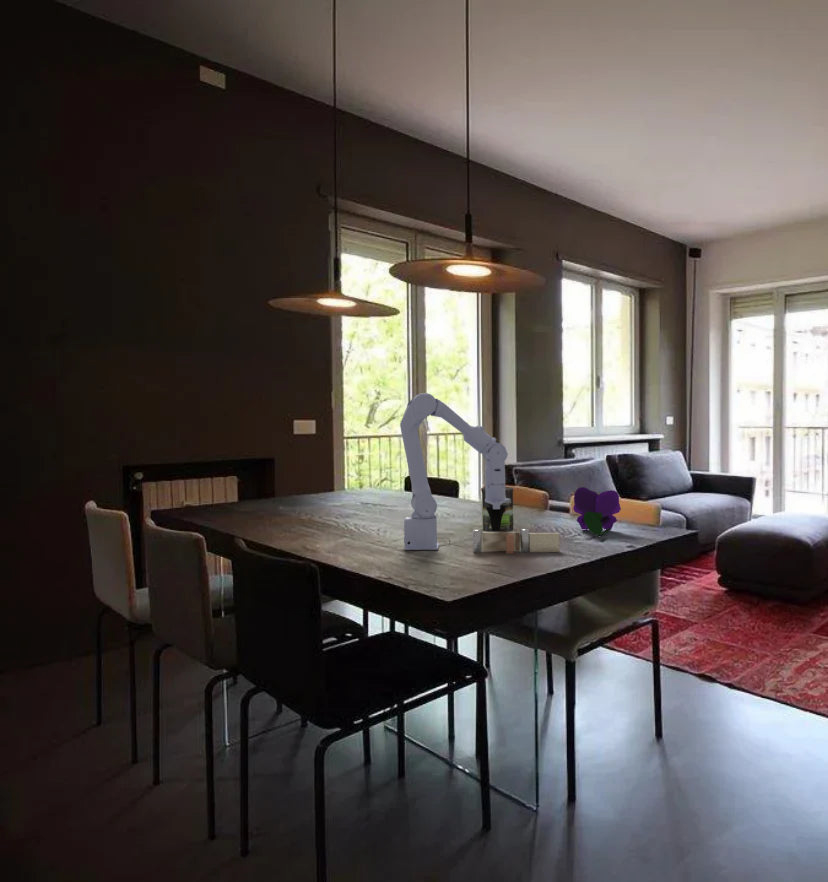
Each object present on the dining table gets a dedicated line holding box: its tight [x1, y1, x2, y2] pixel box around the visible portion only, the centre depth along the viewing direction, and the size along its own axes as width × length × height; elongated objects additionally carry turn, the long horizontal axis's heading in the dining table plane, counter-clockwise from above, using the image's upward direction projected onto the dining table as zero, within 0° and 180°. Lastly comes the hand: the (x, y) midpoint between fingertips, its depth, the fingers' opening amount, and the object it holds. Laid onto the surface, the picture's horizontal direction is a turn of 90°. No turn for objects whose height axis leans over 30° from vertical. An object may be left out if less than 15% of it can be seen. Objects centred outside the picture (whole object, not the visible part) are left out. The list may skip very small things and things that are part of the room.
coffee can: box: [480, 486, 515, 533], centre depth 205 cm, size 10×10×14 cm
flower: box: [572, 486, 622, 537], centre depth 197 cm, size 15×15×14 cm
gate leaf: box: [482, 531, 521, 552], centre depth 175 cm, size 10×2×5 cm, turn 85°
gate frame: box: [472, 528, 560, 554], centre depth 175 cm, size 23×3×6 cm, turn 85°
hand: (495, 530), depth 186 cm, fingers closed
